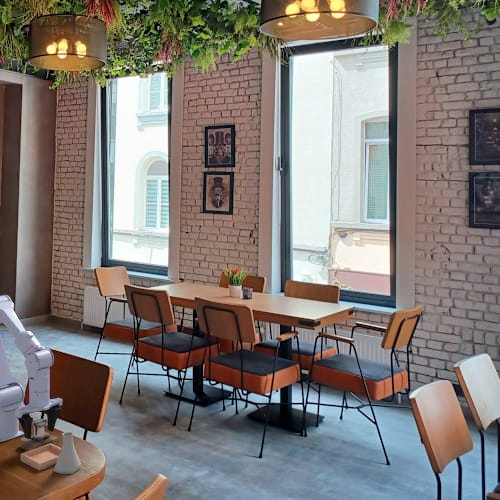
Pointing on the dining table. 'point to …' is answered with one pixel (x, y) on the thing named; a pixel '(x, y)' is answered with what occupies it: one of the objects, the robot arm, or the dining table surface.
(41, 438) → the pin
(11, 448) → the dining table surface
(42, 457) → the tray
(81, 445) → the dining table surface
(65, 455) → the flask
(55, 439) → the brown square frame
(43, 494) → the dining table surface
